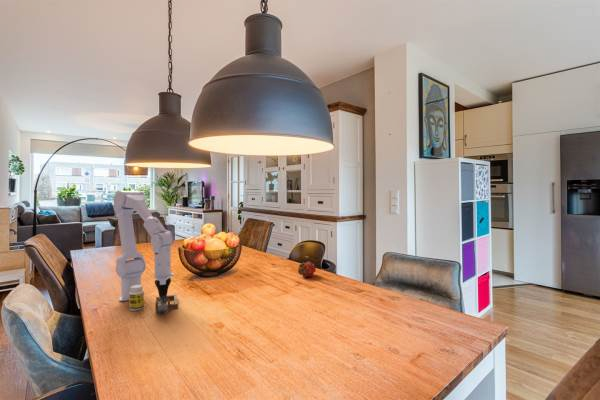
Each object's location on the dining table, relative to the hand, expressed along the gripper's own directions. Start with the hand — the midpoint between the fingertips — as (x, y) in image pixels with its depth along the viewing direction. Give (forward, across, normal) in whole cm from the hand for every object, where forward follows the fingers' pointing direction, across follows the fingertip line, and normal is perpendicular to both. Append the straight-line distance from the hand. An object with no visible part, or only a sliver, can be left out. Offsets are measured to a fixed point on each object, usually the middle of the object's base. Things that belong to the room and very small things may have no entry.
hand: (163, 298), depth 117 cm
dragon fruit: (+3, +14, -68) cm, 69 cm away
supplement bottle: (+3, 0, +9) cm, 9 cm away
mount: (+2, -1, -1) cm, 3 cm away
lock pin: (+1, -8, 0) cm, 8 cm away
